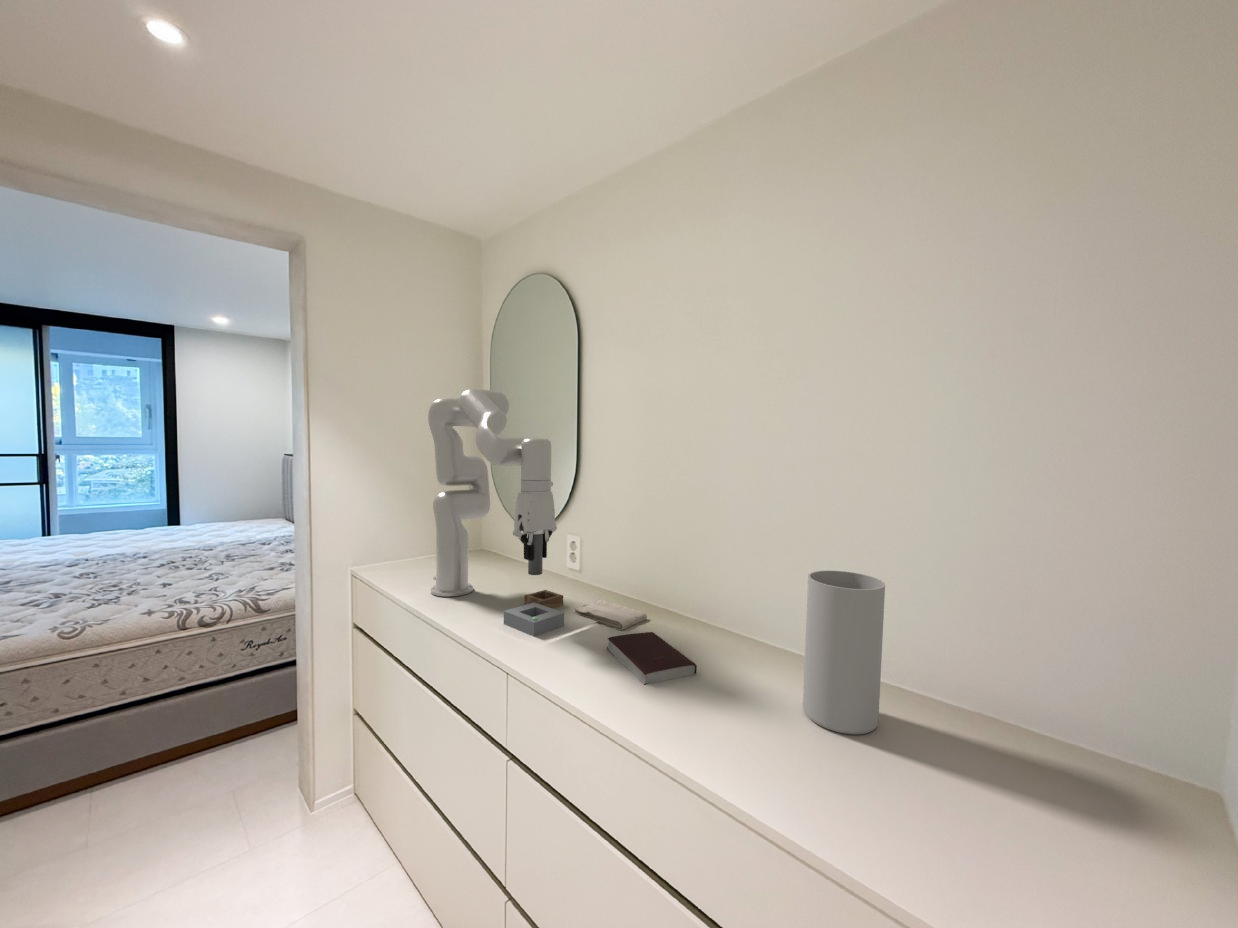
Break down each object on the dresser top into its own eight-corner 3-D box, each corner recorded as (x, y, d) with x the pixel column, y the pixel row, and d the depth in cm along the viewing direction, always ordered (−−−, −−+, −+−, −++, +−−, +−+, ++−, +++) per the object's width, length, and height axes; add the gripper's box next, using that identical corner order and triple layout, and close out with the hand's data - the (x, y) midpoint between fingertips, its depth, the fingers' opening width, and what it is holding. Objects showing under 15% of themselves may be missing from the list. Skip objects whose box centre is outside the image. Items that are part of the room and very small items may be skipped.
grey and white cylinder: (524, 573, 133) (524, 526, 132) (536, 570, 135) (536, 524, 135) (534, 576, 130) (534, 528, 129) (546, 573, 133) (546, 526, 132)
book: (653, 642, 126) (653, 629, 126) (697, 676, 109) (697, 661, 109) (606, 650, 121) (606, 637, 121) (643, 687, 104) (644, 671, 103)
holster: (524, 607, 149) (524, 595, 149) (545, 601, 155) (545, 589, 155) (542, 613, 144) (542, 601, 144) (563, 607, 150) (563, 595, 149)
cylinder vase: (849, 697, 101) (855, 569, 99) (894, 733, 88) (901, 588, 87) (789, 701, 98) (795, 571, 97) (827, 739, 86) (833, 590, 85)
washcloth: (598, 606, 153) (598, 596, 152) (648, 620, 142) (649, 609, 141) (570, 617, 143) (570, 606, 143) (622, 633, 132) (622, 621, 132)
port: (503, 626, 134) (503, 609, 134) (533, 616, 141) (534, 600, 141) (533, 638, 126) (533, 620, 126) (563, 627, 133) (564, 611, 133)
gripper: (550, 484, 140) (550, 551, 141) (500, 487, 128) (499, 561, 129) (569, 486, 136) (569, 555, 136) (519, 489, 123) (518, 566, 124)
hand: (535, 557), depth 133 cm, fingers closed on grey and white cylinder, 3 cm apart
